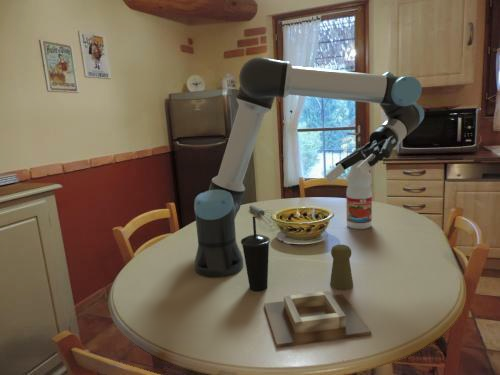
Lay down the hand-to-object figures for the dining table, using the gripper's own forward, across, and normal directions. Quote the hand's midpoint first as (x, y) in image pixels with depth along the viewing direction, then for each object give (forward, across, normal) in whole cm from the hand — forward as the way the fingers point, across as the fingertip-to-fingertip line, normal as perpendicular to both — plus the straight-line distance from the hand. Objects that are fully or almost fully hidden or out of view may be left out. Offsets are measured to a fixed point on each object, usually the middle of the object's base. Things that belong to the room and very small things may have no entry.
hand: (343, 175), depth 99 cm
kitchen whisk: (-1, +66, -11) cm, 67 cm away
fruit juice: (-20, +34, -31) cm, 50 cm away
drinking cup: (+34, +13, -12) cm, 38 cm away
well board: (+34, -6, -19) cm, 39 cm away
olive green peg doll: (+18, +2, -23) cm, 30 cm away
